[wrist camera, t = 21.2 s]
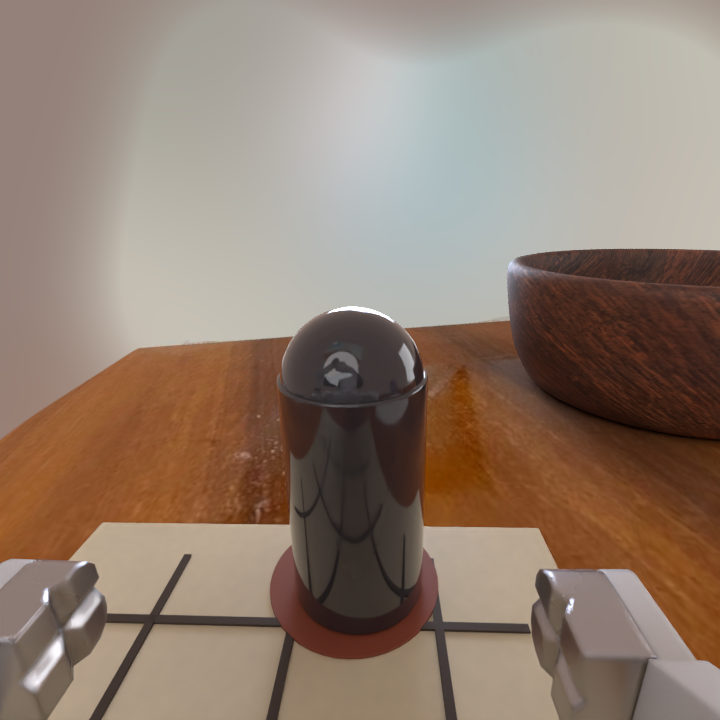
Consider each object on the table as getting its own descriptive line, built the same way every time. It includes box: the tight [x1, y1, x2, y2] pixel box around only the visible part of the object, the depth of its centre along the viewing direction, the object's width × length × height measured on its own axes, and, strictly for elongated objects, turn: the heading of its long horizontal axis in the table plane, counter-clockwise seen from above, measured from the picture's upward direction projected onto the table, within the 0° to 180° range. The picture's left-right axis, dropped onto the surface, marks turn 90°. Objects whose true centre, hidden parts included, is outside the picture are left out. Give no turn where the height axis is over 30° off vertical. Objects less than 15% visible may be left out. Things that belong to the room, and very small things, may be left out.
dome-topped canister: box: [276, 307, 428, 635], centre depth 15 cm, size 5×5×10 cm
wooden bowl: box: [507, 249, 720, 440], centre depth 35 cm, size 25×25×10 cm
